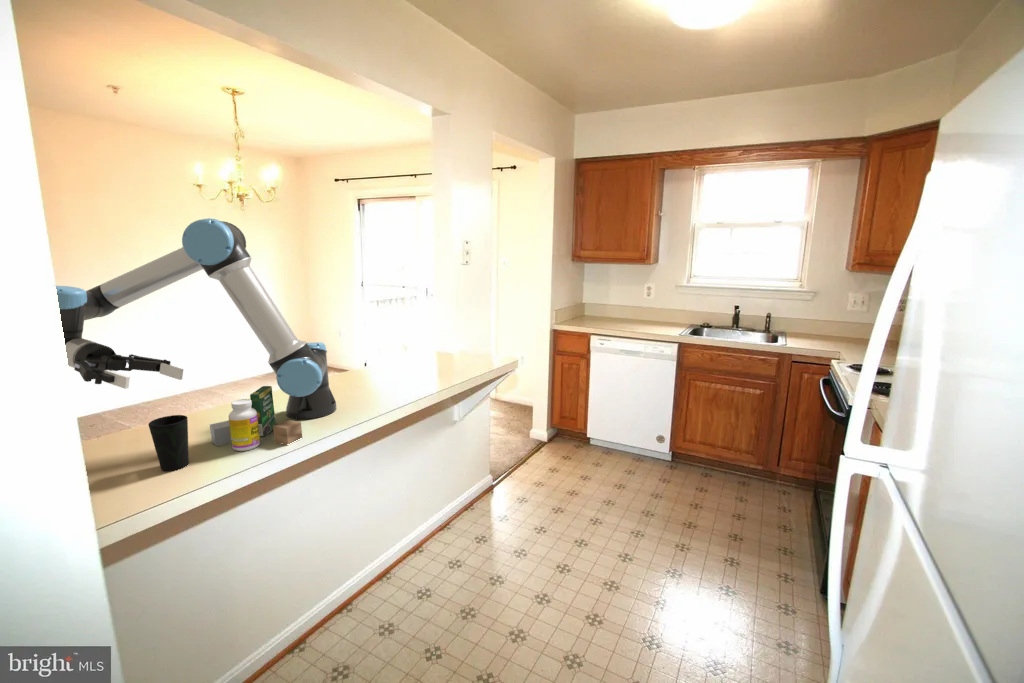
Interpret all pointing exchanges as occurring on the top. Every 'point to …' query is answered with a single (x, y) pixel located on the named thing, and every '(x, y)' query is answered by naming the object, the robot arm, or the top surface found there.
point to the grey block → (220, 433)
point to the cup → (171, 441)
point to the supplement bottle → (244, 426)
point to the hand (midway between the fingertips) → (156, 378)
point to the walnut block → (287, 432)
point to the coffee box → (264, 409)
